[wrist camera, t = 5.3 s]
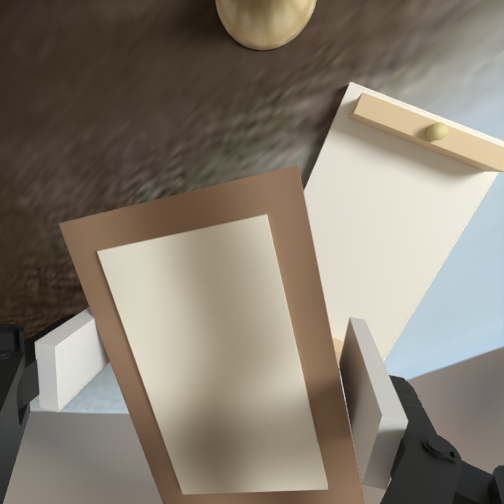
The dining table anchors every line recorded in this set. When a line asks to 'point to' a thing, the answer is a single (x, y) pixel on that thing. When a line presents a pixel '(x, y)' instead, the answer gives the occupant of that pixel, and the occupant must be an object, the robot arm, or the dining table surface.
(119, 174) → the dining table surface
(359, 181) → the wall panel
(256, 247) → the frame
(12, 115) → the dining table surface
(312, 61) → the dining table surface
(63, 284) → the dining table surface
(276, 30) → the hand bell
